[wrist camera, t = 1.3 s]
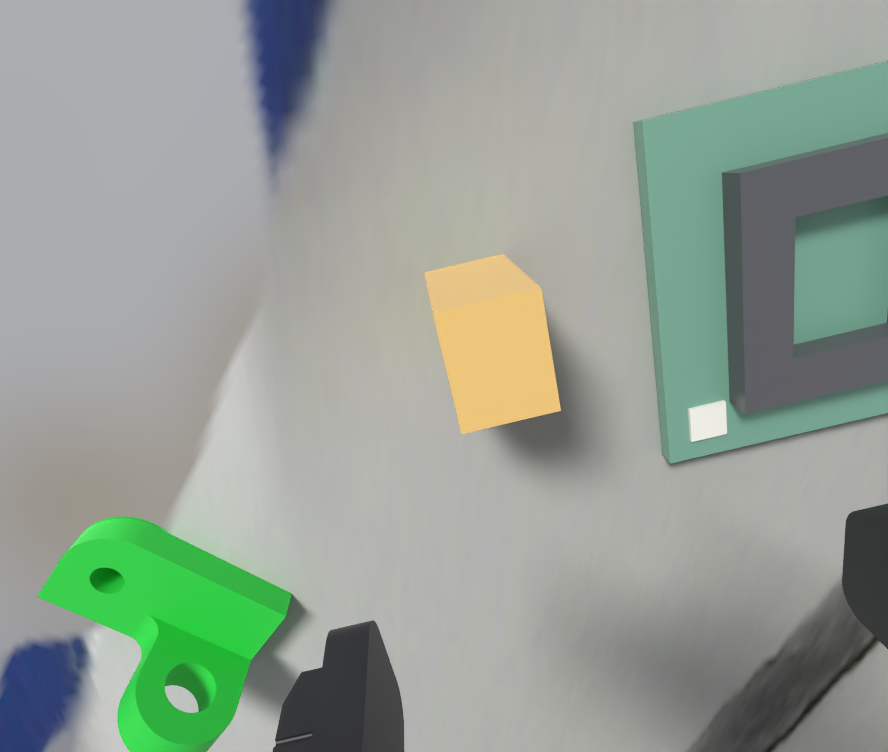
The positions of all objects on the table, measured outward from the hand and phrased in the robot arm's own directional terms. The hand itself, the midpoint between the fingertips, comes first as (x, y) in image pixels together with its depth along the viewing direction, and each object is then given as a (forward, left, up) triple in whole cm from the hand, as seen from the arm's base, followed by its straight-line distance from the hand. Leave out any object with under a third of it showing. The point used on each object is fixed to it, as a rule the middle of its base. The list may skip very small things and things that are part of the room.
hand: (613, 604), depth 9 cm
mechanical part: (+20, +12, -21) cm, 32 cm away
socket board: (-18, +2, -20) cm, 27 cm away
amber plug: (0, 0, -20) cm, 20 cm away
